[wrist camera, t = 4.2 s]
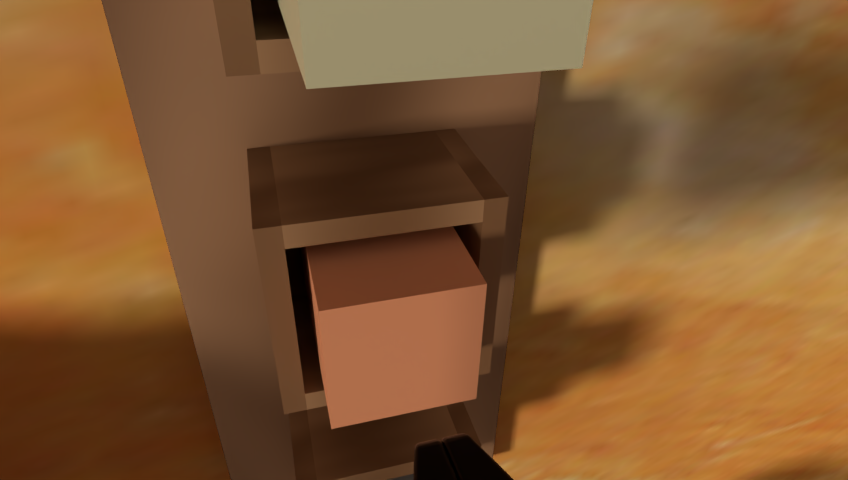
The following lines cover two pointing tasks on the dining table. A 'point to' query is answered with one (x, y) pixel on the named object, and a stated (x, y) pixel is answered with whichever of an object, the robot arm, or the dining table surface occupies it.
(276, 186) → the brown block rack
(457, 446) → the robot arm
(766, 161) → the dining table surface
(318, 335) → the orange rectangular block
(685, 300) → the dining table surface
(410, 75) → the beige rectangular block
